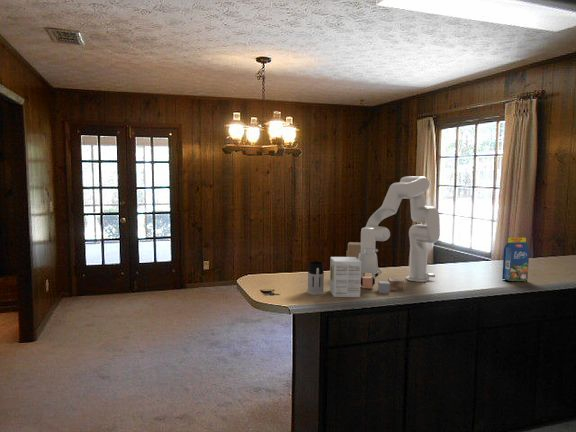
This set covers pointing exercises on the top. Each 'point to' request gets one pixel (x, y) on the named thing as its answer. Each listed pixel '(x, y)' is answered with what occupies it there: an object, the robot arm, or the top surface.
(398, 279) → the walnut base block
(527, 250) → the blue food package
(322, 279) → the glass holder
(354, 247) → the block
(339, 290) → the supplement box
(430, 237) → the robot arm
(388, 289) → the slate grey cube
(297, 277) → the top surface
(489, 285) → the top surface
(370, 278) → the terracotta cube
